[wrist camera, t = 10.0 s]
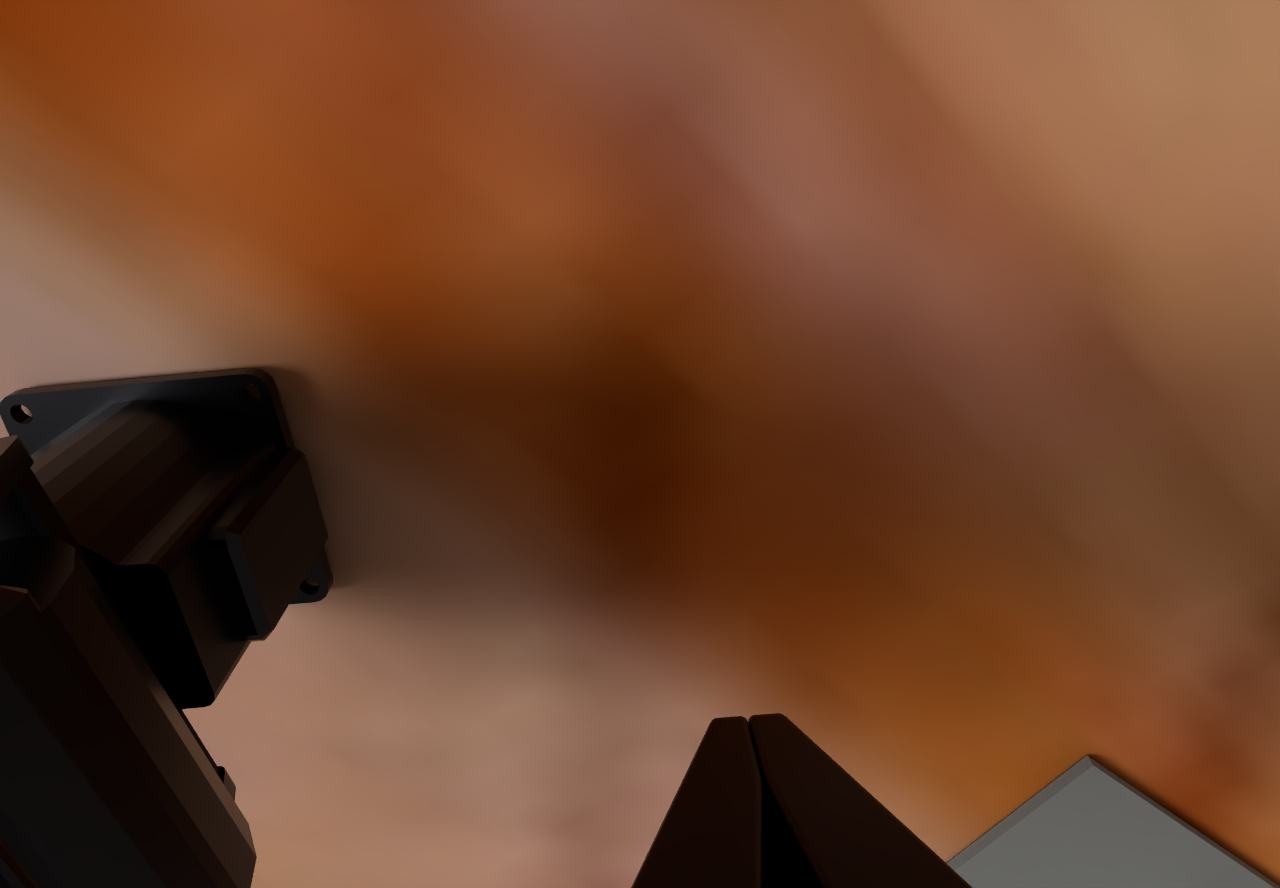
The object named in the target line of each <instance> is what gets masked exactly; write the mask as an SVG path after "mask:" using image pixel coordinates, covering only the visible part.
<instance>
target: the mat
mask: <svg viewBox="0 0 1280 888" xmlns="http://www.w3.org/2000/svg"><path fill="white" fill-rule="evenodd" d="M947 864H948V865H949V866H950V867H951V868H952V869H953V870H954V871H955V872H956V873H957V874H959V875H960V876H961V877H962V878H963V879H964V880H965V881H966V882H967V883H968V884H970V885H971V886H972V887H973V888H1280V886H1278V885H1277V884H1275V883H1274V882H1272V881H1271V880H1269V879H1268V878H1266V877H1265V876H1264V875H1262V874H1261V873H1259V872H1258V871H1256V870H1255V869H1253V868H1252V867H1250V866H1249V865H1247V864H1246V863H1244V862H1243V861H1241V860H1240V859H1239V858H1237V857H1236V856H1234V855H1233V854H1231V853H1230V852H1228V851H1227V850H1225V849H1224V848H1222V847H1221V846H1219V845H1218V844H1216V843H1215V842H1214V841H1212V840H1211V839H1209V838H1208V837H1206V836H1205V835H1203V834H1202V833H1200V832H1199V831H1197V830H1196V829H1194V828H1193V827H1191V826H1190V825H1189V824H1187V823H1186V822H1184V821H1183V820H1181V819H1180V818H1178V817H1177V816H1175V815H1174V814H1172V813H1171V812H1169V811H1168V810H1166V809H1165V808H1164V807H1162V806H1161V805H1159V804H1158V803H1156V802H1155V801H1153V800H1152V799H1150V798H1149V797H1147V796H1146V795H1144V794H1143V793H1141V792H1140V791H1139V790H1137V789H1136V788H1134V787H1133V786H1131V785H1130V784H1128V783H1127V782H1125V781H1124V780H1122V779H1121V778H1119V777H1118V776H1116V775H1115V774H1114V773H1112V772H1111V771H1109V770H1108V769H1106V768H1105V767H1103V766H1102V765H1100V764H1099V763H1097V762H1096V761H1094V760H1093V759H1091V758H1090V757H1088V756H1085V757H1084V758H1083V759H1082V760H1080V761H1079V762H1078V763H1076V764H1075V765H1074V766H1072V767H1071V768H1070V769H1069V770H1067V771H1066V772H1065V773H1063V774H1062V775H1061V776H1059V777H1058V778H1057V779H1056V780H1054V781H1053V782H1052V783H1050V784H1049V785H1048V786H1046V787H1045V788H1044V789H1043V790H1041V791H1040V792H1039V793H1037V794H1036V795H1035V796H1033V797H1032V798H1031V799H1029V800H1028V801H1027V802H1026V803H1024V804H1023V805H1022V806H1020V807H1019V808H1018V809H1016V810H1015V811H1014V812H1013V813H1011V814H1010V815H1009V816H1007V817H1006V818H1005V819H1003V820H1002V821H1001V822H1000V823H998V824H997V825H996V826H994V827H993V828H992V829H990V830H989V831H988V832H986V833H985V834H984V835H983V836H981V837H980V838H979V839H977V840H976V841H975V842H973V843H972V844H971V845H970V846H968V847H967V848H966V849H964V850H963V851H962V852H960V853H959V854H958V855H957V856H955V857H954V858H953V859H951V860H950V861H949V862H947Z"/></svg>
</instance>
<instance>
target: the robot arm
mask: <svg viewBox="0 0 1280 888" xmlns="http://www.w3.org/2000/svg"><path fill="white" fill-rule="evenodd" d="M245 384H252V385H254V386H255V387H257V388H258V390H259V392H260V397H253V396H252V395H250V394H249V393H248V392H247V390H246V389H245ZM21 405H24V406H25V407H27V408H28V409H29V410H30V411H31V413H32V416H33V417H30V416H28V415H27V414H25V413H24V411H23V410H22V409H21ZM0 415H1V418H2V420H3V422H4V424H5V427H6V429H7V431H8V433H9V437H5V438H1V439H0V888H250V887H251V882H252V877H253V872H254V867H255V862H256V852H255V848H254V844H253V840H252V836H251V832H250V828H249V824H248V822H247V821H246V819H245V817H244V816H243V814H242V813H241V811H240V810H239V808H238V806H237V805H236V803H235V802H234V801H235V791H236V787H235V784H234V783H233V781H232V779H231V778H230V776H229V774H228V773H227V771H226V770H225V768H224V767H222V766H217V765H216V764H215V762H214V761H213V759H212V757H211V756H210V754H209V753H208V751H207V749H206V748H205V746H204V745H203V743H202V741H201V740H200V738H199V737H198V735H197V733H196V732H195V730H194V729H193V727H192V725H191V724H190V722H189V721H188V719H187V717H186V716H185V714H184V713H183V711H182V709H187V708H199V707H206V706H209V705H211V704H212V703H213V702H214V700H215V699H216V697H217V696H218V694H219V692H220V691H221V689H222V688H223V686H224V684H225V683H226V681H227V680H228V678H229V676H230V675H231V673H232V672H233V670H234V668H235V667H236V665H237V663H238V662H239V660H240V659H241V657H242V655H243V654H244V652H245V651H246V649H247V647H248V646H249V644H250V643H251V641H263V640H265V639H266V638H267V637H268V636H269V635H270V634H271V632H272V631H273V630H274V628H275V627H276V625H277V623H278V622H279V620H280V618H281V617H282V615H283V613H284V612H285V610H286V608H287V606H288V605H289V604H298V603H310V602H317V601H320V600H322V599H323V598H325V597H326V595H327V593H328V591H329V590H330V588H331V586H332V583H333V576H332V573H331V569H330V566H329V563H328V559H327V556H326V552H325V549H324V544H325V543H326V541H327V539H328V534H327V530H326V527H325V523H324V520H323V516H322V513H321V509H320V506H319V502H318V499H317V496H316V492H315V489H314V485H313V482H312V478H311V475H310V471H309V468H308V464H307V461H306V457H305V455H304V454H303V453H302V452H301V451H300V450H299V449H297V448H296V447H294V443H293V440H292V437H291V433H290V430H289V426H288V423H287V420H286V416H285V413H284V409H283V406H282V403H281V399H280V396H279V392H278V389H277V386H276V384H275V382H274V380H273V378H272V377H271V376H270V375H269V374H268V373H267V372H264V371H262V370H260V369H256V368H244V369H233V370H222V371H211V372H200V373H189V374H178V375H167V376H156V377H145V378H134V379H123V380H112V381H101V382H90V383H79V384H68V385H57V386H46V387H35V388H24V389H21V390H17V391H15V392H13V393H12V394H10V395H8V396H7V397H5V398H4V399H3V400H2V401H1V403H0ZM306 578H307V579H312V580H314V581H316V582H317V584H318V586H313V585H310V584H308V583H307V582H306V580H305V579H306ZM631 888H973V887H972V886H971V885H970V884H968V883H967V882H966V881H965V880H964V879H963V878H962V877H961V876H960V875H959V874H957V873H956V872H955V871H954V870H953V869H952V868H951V867H950V866H949V865H948V864H947V863H945V862H944V861H943V860H942V859H941V858H940V857H939V856H938V855H937V854H936V853H935V852H933V851H932V850H931V849H930V848H929V847H928V846H927V845H926V844H925V843H924V842H922V841H921V840H920V839H919V838H918V837H917V836H916V835H915V834H914V833H913V832H912V831H910V830H909V829H908V828H907V827H906V826H905V825H904V824H903V823H902V822H901V821H900V820H898V819H897V818H896V817H895V816H894V815H893V814H892V813H891V812H890V811H889V810H888V809H886V808H885V807H884V806H883V805H882V804H881V803H880V802H879V801H878V800H877V799H875V798H874V797H873V796H872V795H871V794H870V793H869V792H868V791H867V790H866V789H865V788H863V787H862V786H861V785H860V784H859V783H858V782H857V781H856V780H855V779H854V778H853V777H851V776H850V775H849V774H848V773H847V772H846V771H845V770H844V769H843V768H842V767H840V766H839V765H838V764H837V763H836V762H835V761H834V760H833V759H832V758H831V757H830V756H828V755H827V754H826V753H825V752H824V751H823V750H822V749H821V748H820V747H819V746H818V745H816V744H815V743H814V742H813V741H812V740H811V739H810V738H809V737H808V736H807V735H805V734H804V733H803V732H802V731H801V730H800V729H799V728H798V727H797V726H796V725H795V724H793V723H792V722H791V721H790V720H789V719H788V718H787V717H786V716H784V715H783V714H780V713H775V714H762V715H753V716H751V717H750V718H749V720H748V721H747V720H746V718H744V717H742V716H737V717H724V718H715V719H713V720H712V721H711V723H710V724H709V726H708V729H707V731H706V733H705V735H704V737H703V739H702V741H701V743H700V745H699V747H698V749H697V751H696V754H695V756H694V758H693V760H692V762H691V764H690V766H689V768H688V770H687V772H686V774H685V776H684V779H683V781H682V783H681V785H680V787H679V789H678V791H677V793H676V795H675V797H674V799H673V802H672V804H671V806H670V808H669V810H668V812H667V814H666V816H665V818H664V820H663V822H662V824H661V827H660V829H659V831H658V833H657V835H656V837H655V839H654V841H653V843H652V845H651V847H650V849H649V852H648V854H647V856H646V858H645V860H644V862H643V864H642V866H641V868H640V870H639V872H638V874H637V877H636V879H635V881H634V883H633V885H632V887H631Z"/></svg>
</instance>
